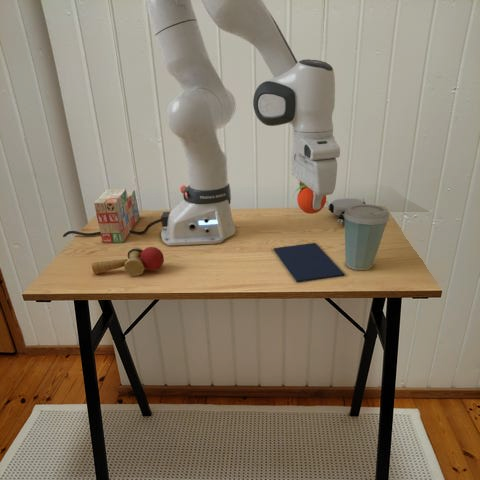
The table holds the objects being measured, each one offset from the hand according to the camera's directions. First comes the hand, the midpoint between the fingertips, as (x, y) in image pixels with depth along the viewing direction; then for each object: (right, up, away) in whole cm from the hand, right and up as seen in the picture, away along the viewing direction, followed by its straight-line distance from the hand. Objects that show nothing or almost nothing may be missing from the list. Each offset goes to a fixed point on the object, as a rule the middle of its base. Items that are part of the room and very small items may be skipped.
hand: (309, 203), depth 109 cm
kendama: (-45, -16, +7) cm, 48 cm away
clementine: (0, -2, +2) cm, 3 cm away
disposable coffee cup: (+14, -14, +5) cm, 21 cm away
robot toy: (+17, +3, +33) cm, 37 cm away
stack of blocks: (-54, 0, +33) cm, 63 cm away
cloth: (0, -13, +8) cm, 15 cm away
